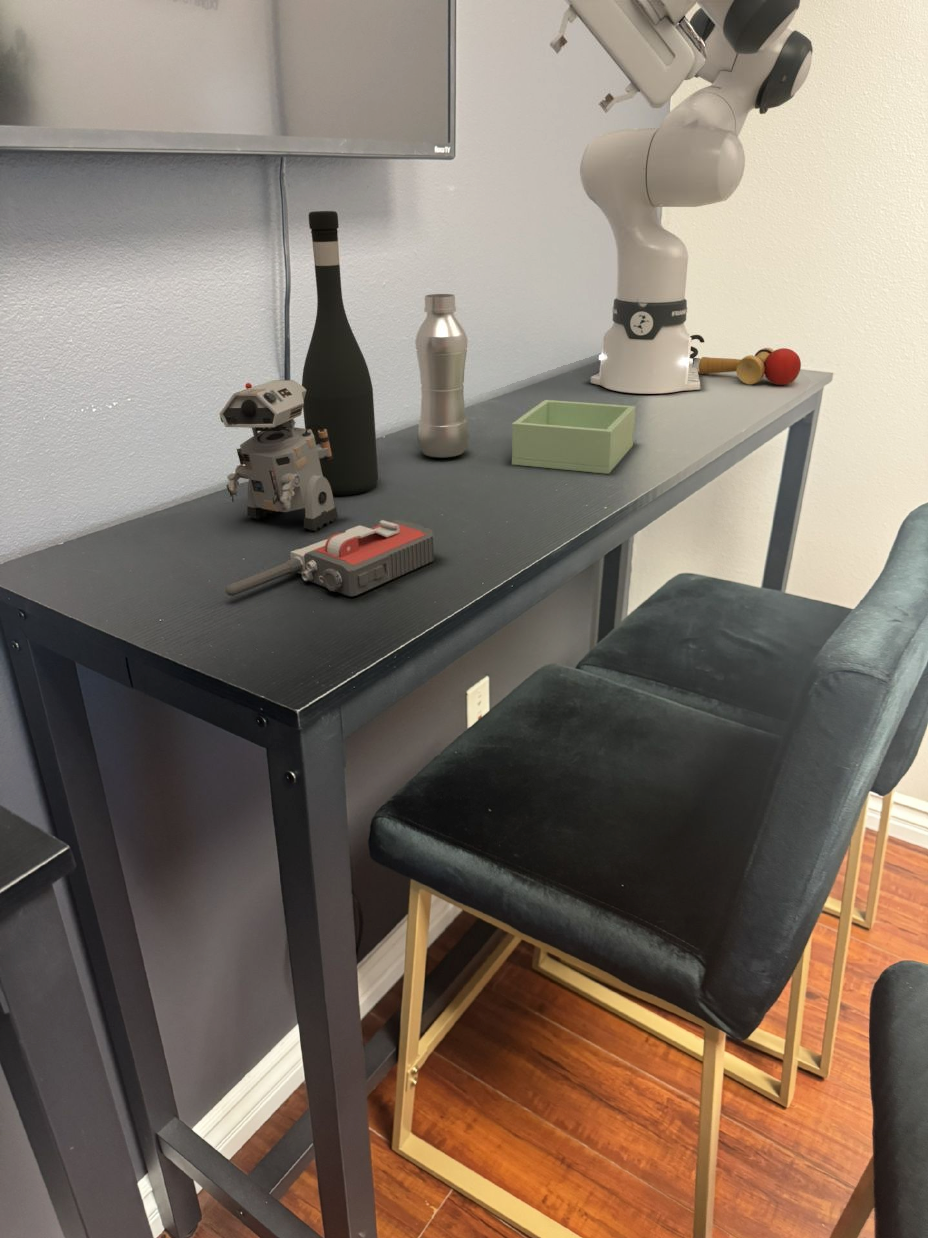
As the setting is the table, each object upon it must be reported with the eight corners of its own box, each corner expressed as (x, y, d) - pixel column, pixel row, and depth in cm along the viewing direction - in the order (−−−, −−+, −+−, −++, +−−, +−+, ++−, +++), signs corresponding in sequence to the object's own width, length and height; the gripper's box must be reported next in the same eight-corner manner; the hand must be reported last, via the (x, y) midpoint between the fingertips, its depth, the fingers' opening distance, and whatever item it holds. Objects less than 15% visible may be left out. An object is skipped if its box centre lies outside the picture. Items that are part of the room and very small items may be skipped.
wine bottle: (331, 474, 111) (308, 209, 98) (389, 480, 109) (373, 209, 96) (298, 494, 105) (269, 212, 91) (360, 501, 102) (338, 212, 89)
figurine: (211, 537, 93) (188, 391, 86) (282, 504, 102) (266, 369, 95) (280, 552, 89) (262, 400, 82) (347, 516, 98) (336, 376, 91)
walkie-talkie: (384, 537, 92) (221, 602, 78) (381, 496, 90) (214, 555, 76) (448, 557, 87) (285, 631, 73) (447, 514, 85) (279, 582, 71)
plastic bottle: (412, 452, 120) (405, 294, 111) (460, 446, 122) (457, 291, 113) (426, 465, 114) (420, 300, 105) (476, 459, 116) (474, 296, 107)
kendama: (689, 385, 160) (787, 384, 148) (691, 348, 158) (790, 344, 146) (711, 386, 165) (806, 385, 153) (713, 350, 164) (810, 346, 152)
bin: (543, 437, 125) (544, 399, 123) (633, 445, 121) (635, 406, 119) (511, 464, 114) (511, 423, 112) (608, 474, 110) (611, 431, 107)
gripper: (710, 56, 117) (628, 142, 122) (606, -79, 111) (525, 17, 116) (718, 52, 111) (632, 142, 116) (609, -91, 105) (524, 11, 111)
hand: (578, 79), depth 116 cm, fingers open, 8 cm apart
